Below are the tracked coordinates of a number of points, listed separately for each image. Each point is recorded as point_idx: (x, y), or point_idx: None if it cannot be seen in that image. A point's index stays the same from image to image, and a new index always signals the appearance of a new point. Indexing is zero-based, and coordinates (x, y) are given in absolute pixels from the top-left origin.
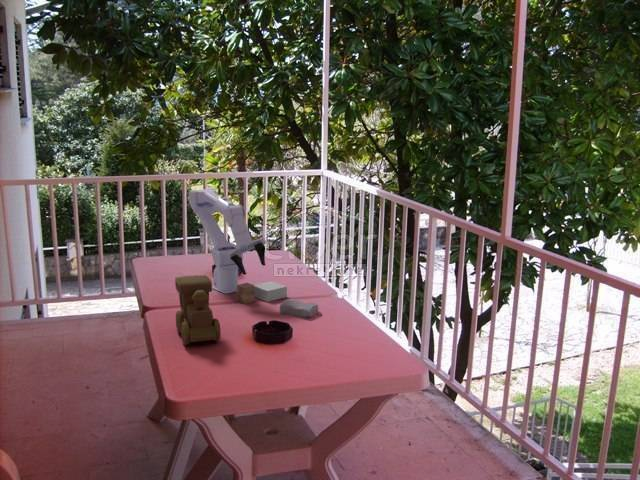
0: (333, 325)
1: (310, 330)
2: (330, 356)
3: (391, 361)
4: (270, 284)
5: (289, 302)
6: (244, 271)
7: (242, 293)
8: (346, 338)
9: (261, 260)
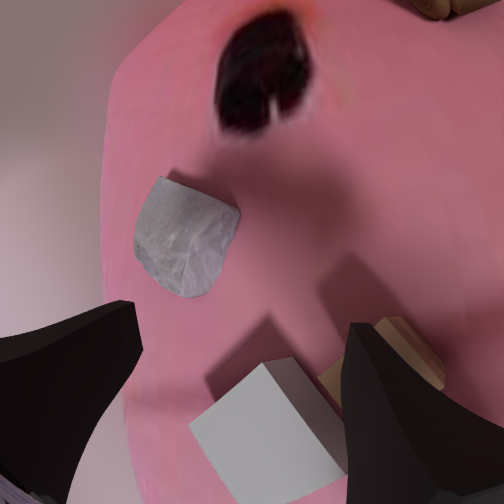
0: (142, 159)
1: (182, 110)
2: (177, 39)
3: (127, 72)
4: (251, 473)
5: (184, 205)
6: (347, 365)
7: (405, 330)
8: (142, 107)
9: (98, 308)
